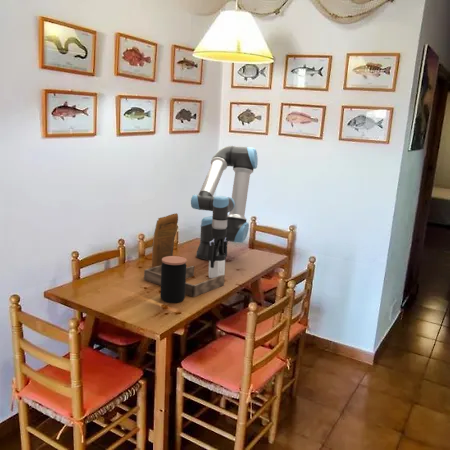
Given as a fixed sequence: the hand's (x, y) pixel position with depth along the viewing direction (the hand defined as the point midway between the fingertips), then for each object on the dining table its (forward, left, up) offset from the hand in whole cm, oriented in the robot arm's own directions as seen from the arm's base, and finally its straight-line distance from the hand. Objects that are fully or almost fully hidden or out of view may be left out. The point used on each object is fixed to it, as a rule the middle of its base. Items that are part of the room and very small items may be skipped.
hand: (216, 272), depth 235 cm
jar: (0, 0, -3) cm, 3 cm away
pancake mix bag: (+7, -30, -3) cm, 31 cm away
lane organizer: (+18, -6, -3) cm, 19 cm away
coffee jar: (+38, +5, -3) cm, 38 cm away
